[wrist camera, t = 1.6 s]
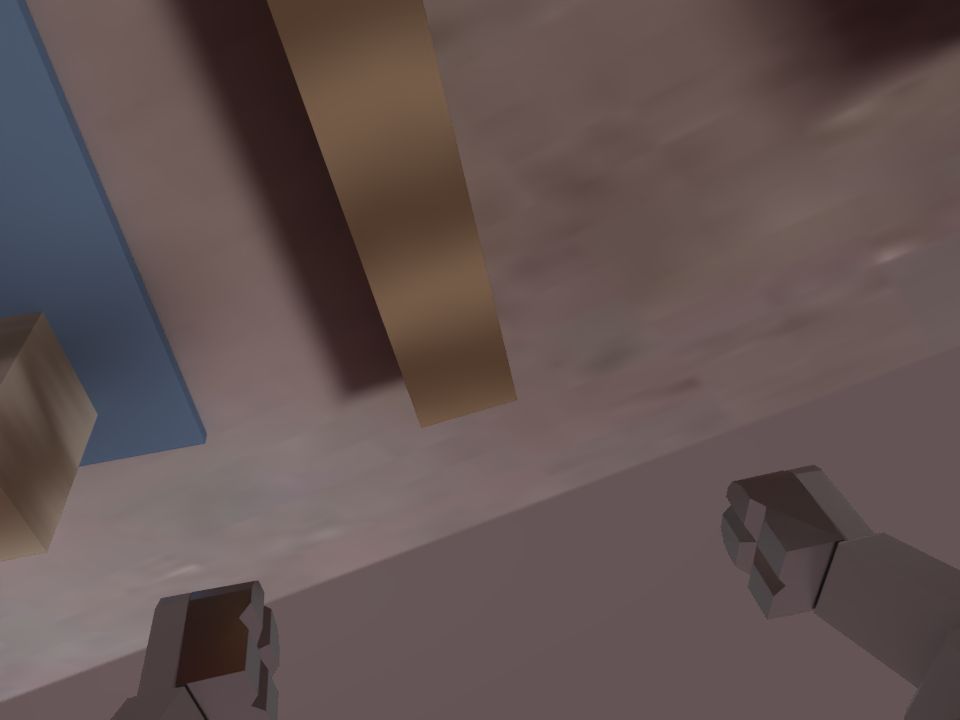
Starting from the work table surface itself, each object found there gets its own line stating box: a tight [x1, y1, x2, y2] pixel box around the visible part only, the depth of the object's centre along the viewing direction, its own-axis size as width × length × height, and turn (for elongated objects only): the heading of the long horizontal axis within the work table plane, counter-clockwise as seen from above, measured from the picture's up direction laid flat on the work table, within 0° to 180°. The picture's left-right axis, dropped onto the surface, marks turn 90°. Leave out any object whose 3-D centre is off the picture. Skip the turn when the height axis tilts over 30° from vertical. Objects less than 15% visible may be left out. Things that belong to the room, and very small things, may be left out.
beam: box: [267, 0, 517, 428], centre depth 24 cm, size 18×4×4 cm, turn 12°
